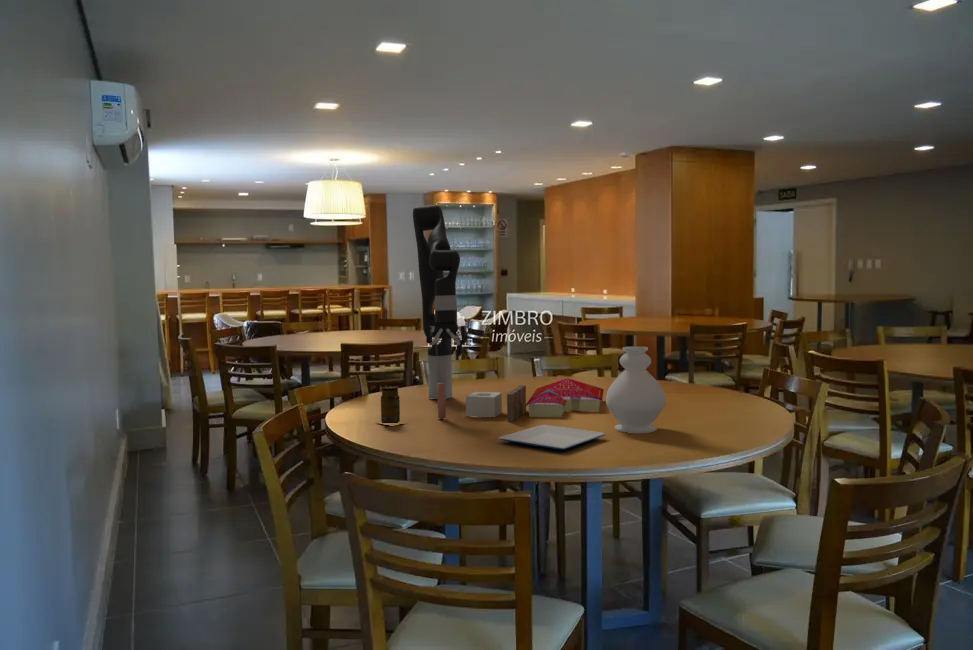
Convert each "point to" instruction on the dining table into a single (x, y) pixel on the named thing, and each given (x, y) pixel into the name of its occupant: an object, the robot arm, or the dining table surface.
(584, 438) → the plate
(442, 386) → the dowel
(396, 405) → the condiment
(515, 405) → the wall
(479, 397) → the block
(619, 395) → the decorative vase
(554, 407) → the house model
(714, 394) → the dining table surface
